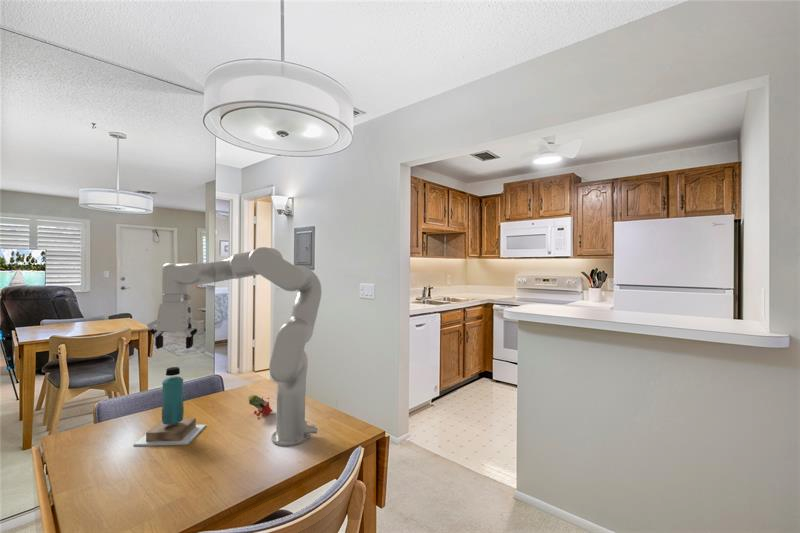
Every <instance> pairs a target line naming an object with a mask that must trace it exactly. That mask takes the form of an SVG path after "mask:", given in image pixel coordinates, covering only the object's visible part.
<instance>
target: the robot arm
mask: <svg viewBox="0 0 800 533" xmlns="http://www.w3.org/2000/svg"><path fill="white" fill-rule="evenodd" d="M161 269H162V270H161V272H162V275H161V277H162V278H161V280H162V283H161V302H160V303H159V306H158V310H157V319H155V320H154V321H151V322H149V323H148V324H146V326H147V328H148V330H149V332H150V334H152V335H153V338H155V339H154V340H155V341H154V342H155V343H154V346H155V349H156V350H159V349H161V348H163V347H164V336H163V334H164V333H175V332H176V333H182V332H183V333H185V335H186V336H187V337H185V349H186V350H187V349H191V348H192V347H193V345H194V336H195V335H196V334H197V333H198V332H199V330H200V328H201V326H202V323H201V322H199V321H197V320H195V319H193V311H192V305H191V302H189V300H191V299H192V295H189V293H188V285H190V286H196V285H206V284H207V285H208V284H212V283H218V282H222V281H223V282H224V281H229V280H234V279H235V280H238V279H243V278H248V277H253V276H261V277H262V278H265V280H268V281H269V282H271V283H272V284H274V285H275V286H277V287H279V288H281V289H282V290H284V291H286V292H296V298H295V300H294V302H293V306H292V310H291V314H290V317H289V320H288V321H287V322H285V323H284V324H282V325H281V326H280V328H279V329H278V332H277V335H276V337H275V342H274V345H273V348H272V353H271V357H270V360H269V366H268V369H269V370H268V371H269V374H270V376H271V378H272V379H273V380H274V381H275V382H277V384H276V386H277V387H276V390H277V391H276V423H275V424H276V429H275V431H274V432H273V433H272V435H271V438H270V439H271V442H272V444H275V445H277V446H282V447H290V446H291V447H292V446H295V445H300V444H302V443H304V442H306V441H307V440H308V439H309V437H310V434H318V426H317V427H316V425H313V424H312V425H309V424H307V422H308V421H307V420H306V390H307V389H306V388H307V387H306V386H307V385H306V384H307V373H308V364H309V363H308V354H307V353H306V351H305V346H306V344H307V343H309V341H310V340H311V339H312V336H313V334H314V330H315V329H314V328H315V325H316V320H317V317H318V316H317V315H318V312H319V307H320V303H321V299H322V284H321V282H320V279H319V277H318V276H317V275H316V273H315V272H314V271H313V270H312V269H310V268H308V267H307V266H304V265H294V264H292V263H291V262H289V261H288V260H286V259H284V258H283V255H282V253H281V251H279V250H278V249H275V248H274V247H273V248H272V247H266V246H264V247H263V246H261V247H257V248H255V249H254V250H251V251H246V252H239V253H234V254H233V255H231V256H230V257H229V258H225V259H223V260H218V261H217V260H216V261H211V262H189V263H178V262H176V263H175V262H174V263H168V262H167V263H165V264H163V265H162V267H161ZM155 326H156V328H155ZM193 327H194V328H193Z"/></svg>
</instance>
